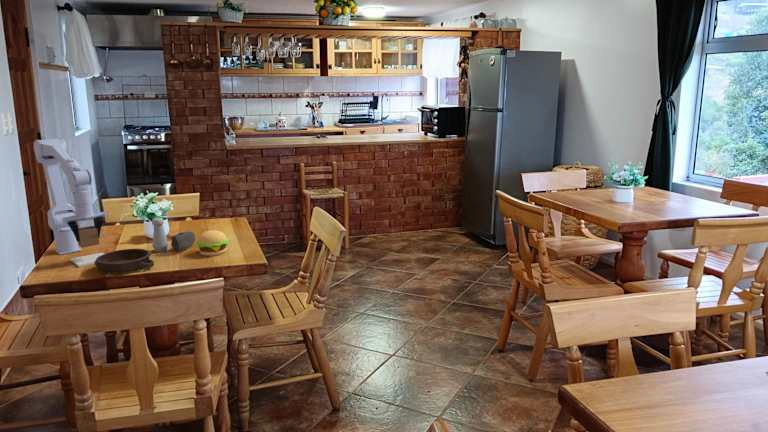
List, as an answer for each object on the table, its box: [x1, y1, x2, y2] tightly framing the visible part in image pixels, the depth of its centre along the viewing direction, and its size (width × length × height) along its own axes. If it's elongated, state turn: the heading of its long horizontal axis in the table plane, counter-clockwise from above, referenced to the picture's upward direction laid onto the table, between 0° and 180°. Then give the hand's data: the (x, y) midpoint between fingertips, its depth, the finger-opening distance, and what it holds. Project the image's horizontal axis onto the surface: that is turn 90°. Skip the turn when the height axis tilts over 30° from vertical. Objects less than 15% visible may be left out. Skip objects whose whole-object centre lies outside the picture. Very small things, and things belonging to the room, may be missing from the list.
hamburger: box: [196, 229, 230, 257], centre depth 222 cm, size 12×12×9 cm
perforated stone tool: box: [170, 231, 196, 253], centre depth 228 cm, size 15×5×7 cm, turn 166°
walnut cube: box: [78, 225, 100, 249], centre depth 213 cm, size 6×6×6 cm
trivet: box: [70, 252, 105, 268], centre depth 215 cm, size 11×11×1 cm
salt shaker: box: [151, 217, 169, 253], centre depth 225 cm, size 6×6×13 cm
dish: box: [94, 248, 155, 274], centre depth 206 cm, size 18×22×5 cm
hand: (88, 239), depth 214 cm, fingers closed on walnut cube, 6 cm apart
